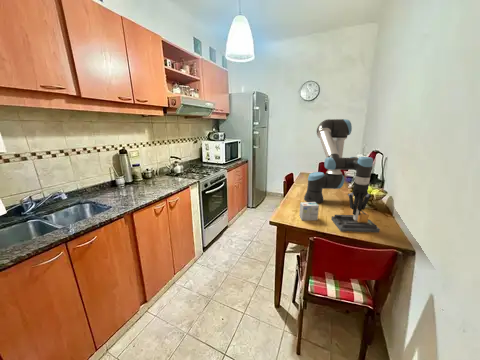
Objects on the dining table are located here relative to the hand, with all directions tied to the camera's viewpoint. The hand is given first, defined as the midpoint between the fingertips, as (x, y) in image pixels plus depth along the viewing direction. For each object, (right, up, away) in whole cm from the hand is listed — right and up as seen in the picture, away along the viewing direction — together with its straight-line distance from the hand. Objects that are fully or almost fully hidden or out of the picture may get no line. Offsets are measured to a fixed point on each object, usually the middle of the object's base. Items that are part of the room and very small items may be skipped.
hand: (355, 219), depth 125 cm
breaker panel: (0, -4, +1) cm, 4 cm away
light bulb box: (-26, -2, +11) cm, 28 cm away
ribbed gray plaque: (+1, -2, +1) cm, 2 cm away
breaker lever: (+4, -2, 0) cm, 5 cm away
